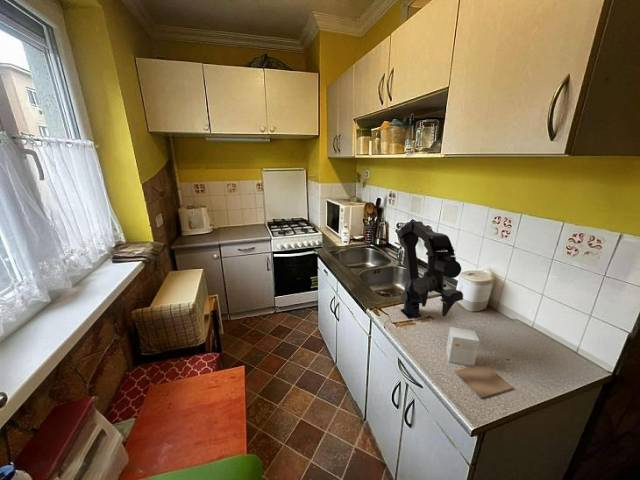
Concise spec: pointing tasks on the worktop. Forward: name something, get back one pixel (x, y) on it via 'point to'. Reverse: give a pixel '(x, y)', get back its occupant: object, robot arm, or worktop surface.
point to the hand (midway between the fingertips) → (433, 311)
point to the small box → (462, 346)
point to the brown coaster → (483, 380)
